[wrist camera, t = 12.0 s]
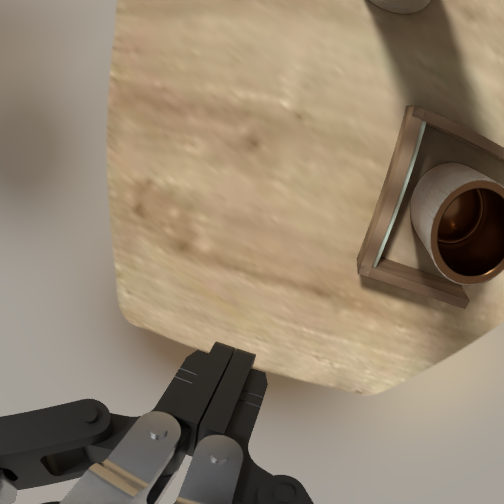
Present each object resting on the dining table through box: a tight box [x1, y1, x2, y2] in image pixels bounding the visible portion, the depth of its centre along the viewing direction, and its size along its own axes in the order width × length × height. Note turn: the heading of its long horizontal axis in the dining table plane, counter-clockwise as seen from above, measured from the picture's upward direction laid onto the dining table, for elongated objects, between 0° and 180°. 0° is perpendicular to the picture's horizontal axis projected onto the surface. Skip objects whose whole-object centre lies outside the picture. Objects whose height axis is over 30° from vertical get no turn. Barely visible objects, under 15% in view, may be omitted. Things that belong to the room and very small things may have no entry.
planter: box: [410, 163, 504, 285], centre depth 29 cm, size 11×11×10 cm
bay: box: [357, 105, 504, 309], centre depth 31 cm, size 19×15×4 cm
